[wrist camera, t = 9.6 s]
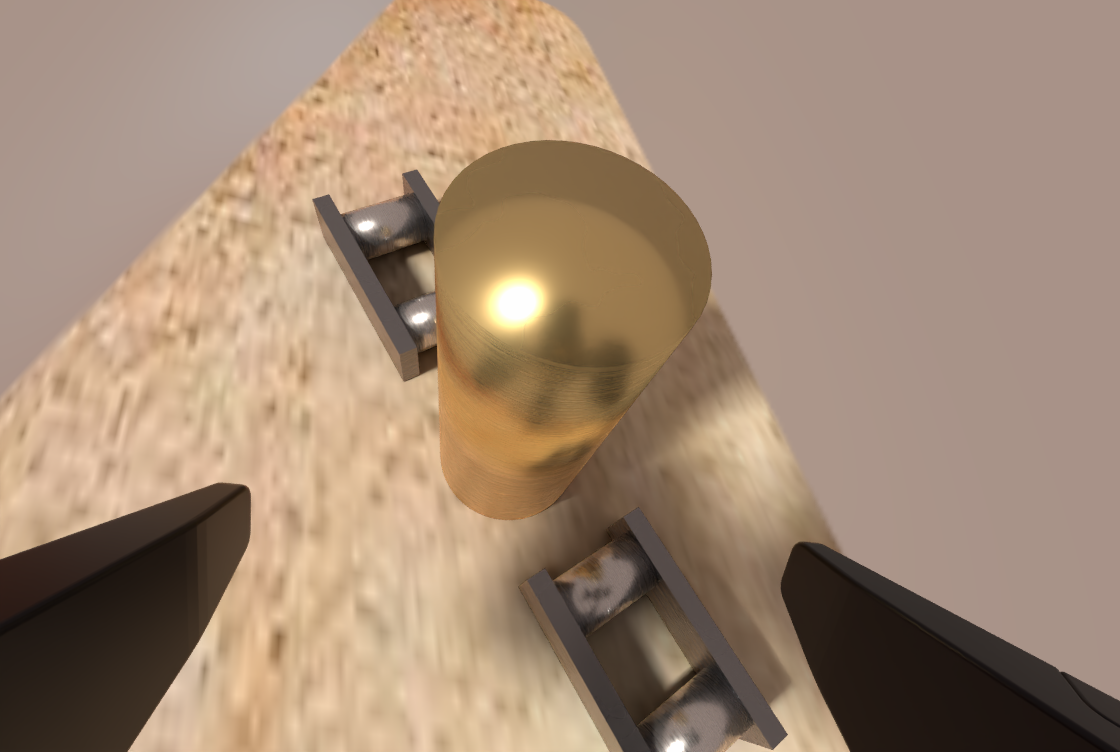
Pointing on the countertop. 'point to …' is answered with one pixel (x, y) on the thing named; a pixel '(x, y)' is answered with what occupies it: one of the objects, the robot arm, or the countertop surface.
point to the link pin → (553, 313)
